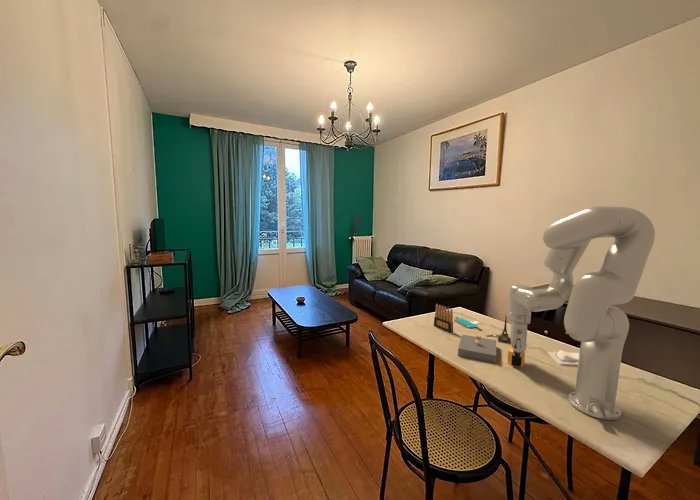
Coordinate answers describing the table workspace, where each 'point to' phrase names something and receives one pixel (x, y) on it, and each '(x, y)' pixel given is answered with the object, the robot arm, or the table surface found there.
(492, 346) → the box
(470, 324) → the cyan flat board
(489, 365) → the table surface
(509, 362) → the orange wooden cylinder
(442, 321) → the ammunition clip
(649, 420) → the table surface
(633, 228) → the robot arm
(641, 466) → the table surface
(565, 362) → the light switch
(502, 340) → the eiffel tower figurine
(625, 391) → the table surface
